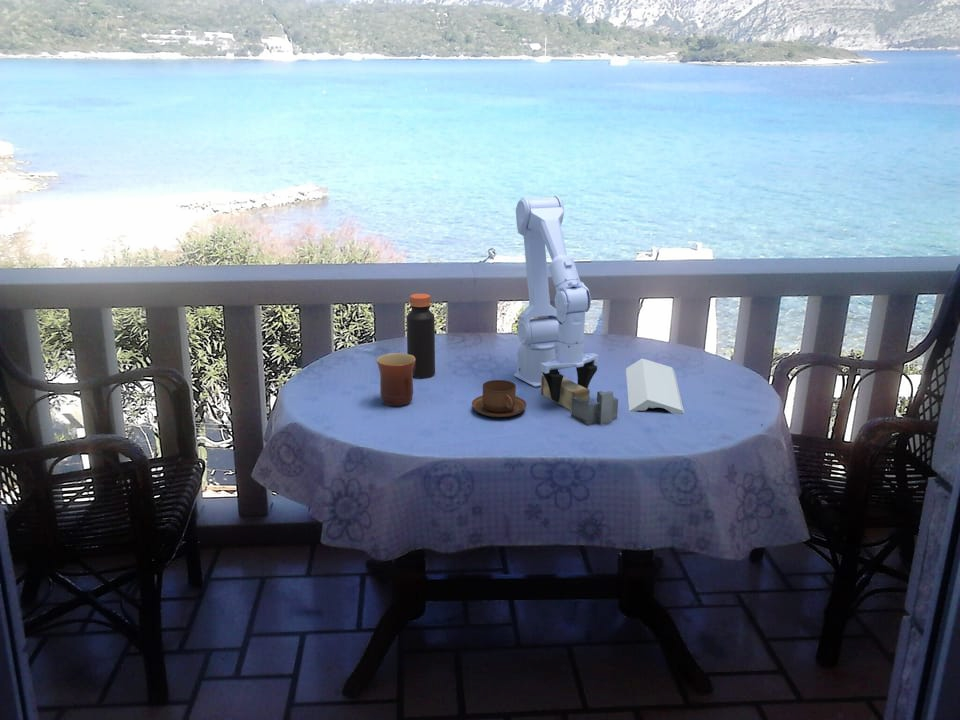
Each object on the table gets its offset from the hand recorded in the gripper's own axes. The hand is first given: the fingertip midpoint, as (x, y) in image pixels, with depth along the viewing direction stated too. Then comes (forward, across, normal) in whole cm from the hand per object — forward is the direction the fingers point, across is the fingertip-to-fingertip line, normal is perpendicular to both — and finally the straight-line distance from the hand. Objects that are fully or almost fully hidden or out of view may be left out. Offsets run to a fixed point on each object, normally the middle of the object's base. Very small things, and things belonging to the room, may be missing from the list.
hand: (568, 397), depth 201 cm
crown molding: (+2, +23, -3) cm, 23 cm away
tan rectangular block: (+2, 0, +2) cm, 2 cm away
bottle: (+2, -20, +34) cm, 39 cm away
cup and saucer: (+2, -16, +4) cm, 17 cm away
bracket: (+1, 0, -10) cm, 10 cm away
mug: (+2, -32, +21) cm, 38 cm away
